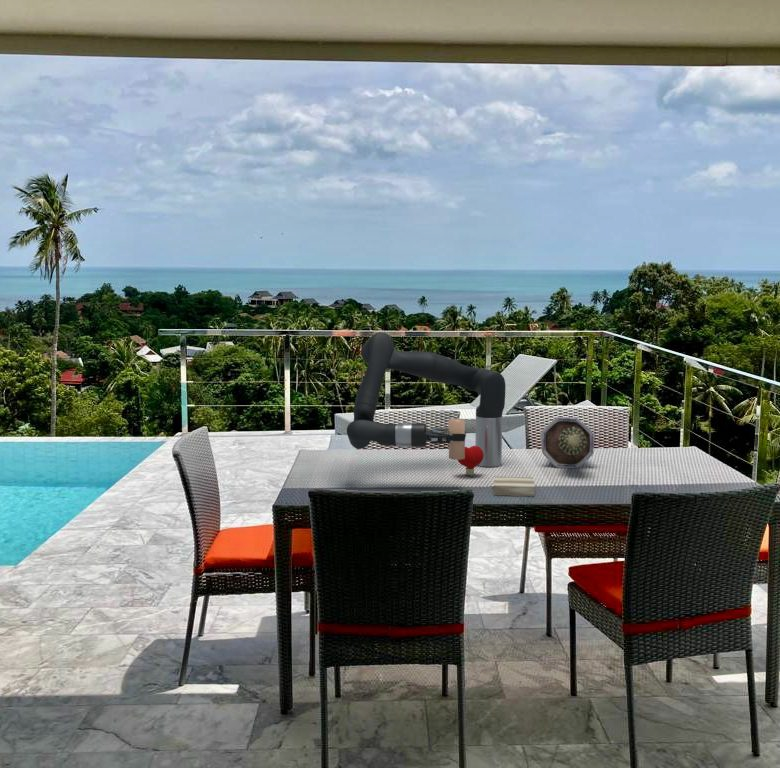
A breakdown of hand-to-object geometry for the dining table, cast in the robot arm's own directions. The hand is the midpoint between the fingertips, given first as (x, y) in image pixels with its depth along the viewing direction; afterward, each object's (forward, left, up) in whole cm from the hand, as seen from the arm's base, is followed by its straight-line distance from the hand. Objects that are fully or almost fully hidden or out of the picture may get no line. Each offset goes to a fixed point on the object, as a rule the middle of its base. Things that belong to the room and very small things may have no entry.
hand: (465, 435), depth 262 cm
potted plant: (-31, +34, -17) cm, 49 cm away
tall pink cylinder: (0, -3, -7) cm, 7 cm away
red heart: (-16, +1, -17) cm, 23 cm away
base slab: (+2, +15, -17) cm, 23 cm away
